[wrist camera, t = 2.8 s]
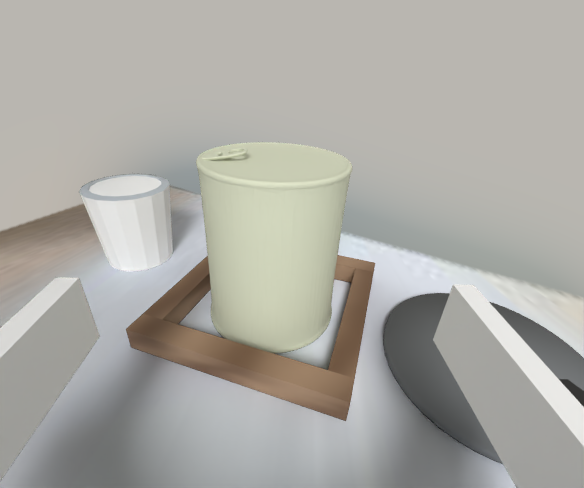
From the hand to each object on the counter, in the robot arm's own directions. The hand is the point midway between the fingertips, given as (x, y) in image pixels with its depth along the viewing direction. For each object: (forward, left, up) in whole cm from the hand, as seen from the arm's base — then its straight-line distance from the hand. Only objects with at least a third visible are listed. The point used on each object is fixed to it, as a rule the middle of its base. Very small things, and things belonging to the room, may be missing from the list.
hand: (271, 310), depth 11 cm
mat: (+12, +9, -8) cm, 17 cm away
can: (-3, +9, -9) cm, 13 cm away
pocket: (-3, +9, -8) cm, 13 cm away
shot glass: (-18, +12, -9) cm, 23 cm away
